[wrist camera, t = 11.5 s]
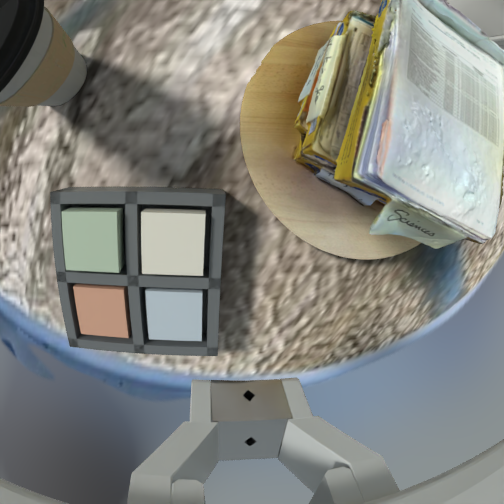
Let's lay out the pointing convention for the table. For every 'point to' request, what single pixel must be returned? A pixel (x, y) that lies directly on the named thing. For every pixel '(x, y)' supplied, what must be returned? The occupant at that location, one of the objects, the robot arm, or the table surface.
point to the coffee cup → (36, 57)
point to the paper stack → (380, 130)
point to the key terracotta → (103, 309)
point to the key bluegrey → (174, 313)
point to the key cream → (172, 241)
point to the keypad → (131, 272)
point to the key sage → (93, 239)
